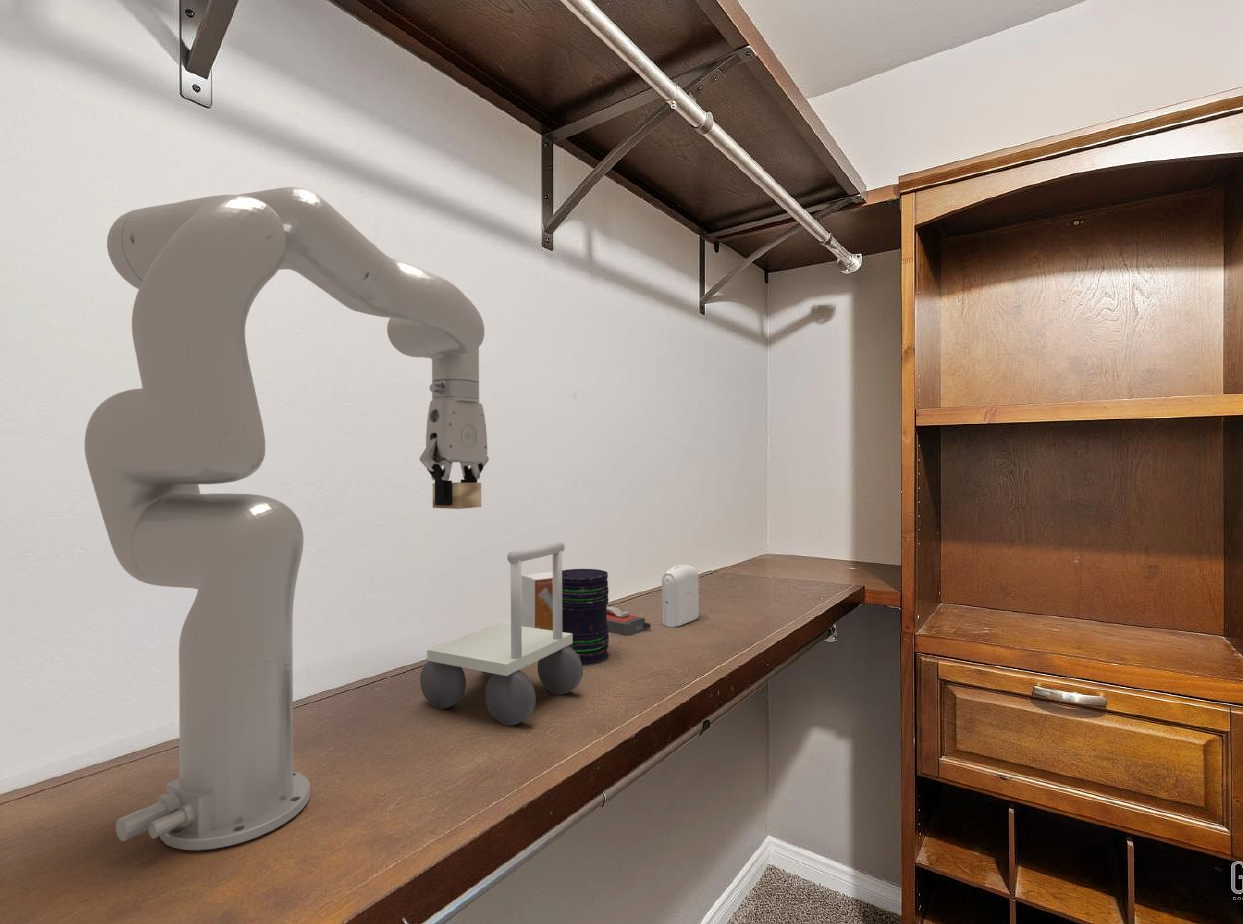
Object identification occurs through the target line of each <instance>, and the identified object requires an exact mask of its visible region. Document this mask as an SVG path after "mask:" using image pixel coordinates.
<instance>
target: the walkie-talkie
mask: <svg viewBox="0 0 1243 924" xmlns="http://www.w3.org/2000/svg"><path fill="white" fill-rule="evenodd" d="M607 625H608V629H609V632H608V633H612V634H616V635H619V636H625V637H630V636H632V635H635V634H636V635H637V634H638V633H641V632H644V631H646V629H650V628H651V625H652V624H651V623H650V622H646V618H645V617H641V616H637V615H630V611H624V612H623V611H622V610H620V608H619V607H613V606H608V605H607Z"/></svg>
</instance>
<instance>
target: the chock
mask: <svg viewBox="0 0 1243 924" xmlns="http://www.w3.org/2000/svg"><path fill="white" fill-rule="evenodd" d="M481 507H482V482H477V483H461V482H452V505H450V506H441V505H435V482H434V483H432V508H433V509H449V510H450V509H453V510H461V509H462V510H463V509H473V508H481Z"/></svg>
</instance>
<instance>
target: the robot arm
mask: <svg viewBox="0 0 1243 924" xmlns="http://www.w3.org/2000/svg"><path fill="white" fill-rule="evenodd" d="M106 248H107V254H108V256H109V259H110V261H111V265H112V266H113V268H114V269H115V270H116V272H117V273H118V274H119V275H120V276H121V277H122V279H123V280H125V282H127V283H128V284H129V285H131V286H132V287H134V288H136V289H137V292H136V293H137V294H136V297H135V299H134V303H133V308H132V312H131V313H132V316H131V333H132V341H133V346H134V350H135V351H134V353H135V356H136V362H137V367H138V372H139V377H140V382H141V388H133V389H128V390H125V391H121V392H117V393H116V394H112V395H110V397H108V398H106V399H105V400H104V401H102V402H101V403H100V404H99V405H98V406H97V407H96V408H95V410H94V411H93V412H92V414H91V416H90V418H89V420H88V422H87V426H86V430H85V434H84V435H85V436H84V455H85V461H86V464H87V468H88V471H89V475H90V479H91V483H92V486H93V489H94V492H95V495H96V500H97V503H98V505H99V506H98V507H99V509H100V513H101V516H102V519H103V523H104V526H105V529H106V532H107V533H106V534H107V536H108V538H109V539H108V540H109V542H110V545H111V547H112V549H113V552H114V556H115V557H116V559H117V560H118V561H117V562H119V564H120V565H121V567H122V569H123V570H124V571H125V572H127V574H128V575H130V577H133V578H134V579H135V580H138V581H140V582H142V583H144V584H148V585H152V586H158V587H169V588H170V587H171V588H183V589H184V588H186V589H194V590H197V592H196V596H195V598H194V601H193V603H192V606H191V607H190V609H189V611H188V613H187V615H186V617H185V620H184V622H183V625H182V627H181V632H180V636H179V641H178V643H179V644H178V668H179V669H178V671H179V673H178V675H179V676H178V678H179V680H178V681H179V684H178V686H179V687H178V688H179V691H178V693H179V695H178V696H179V701H178V702H179V703H178V704H179V706H178V707H179V721H178V724H179V726H178V727H179V778H176V779H175V780H172V781H170V782H168V783H167V785H166V792H167V793H166V794H165V795H163V796H161V797H159V798H158V799H157V800H156V803H155V804H152V805H150V806H148V807H146V808H140V809H138V810H136V811H133V812H131V813H129V814H127V815H125V816H122V817H119V818H118V819H117V821H116V824H115V831H116V834H117V837H118V839H119V840H120V841H121V842H126V841H127V840H129V839H132V838H134V837H136V836H138V835H140V834H142V833H145V832H146V831H148V835H149V836H150V838H151V839H157V838H160V840H161V842H163V843H164V844H165V845H167V846H169V847H171V848H174V849H178V850H182V851H183V850H184V851H207V850H215V849H221V848H225V847H230V846H234V845H238V844H242V843H244V842H247V841H251V840H254V839H257V838H259V837H261V836H263V835H265V834H267V833H270V832H272V831H274V830H276V829H278V828H279V827H281V826H283V825H285V824H286V823H288V822H289V821H290V820H292V819H293V818H295V817H296V816H297V815H298V814H299V813H300V812H301V811H302V810H303V809H304V808H305V806H306V805H307V804H308V802H309V800H310V798H311V784H310V780H309V779H308V778H307V776H305V775H303V774H302V773H301V772H298V771H294V713H293V712H294V703H293V702H294V700H293V698H294V692H293V690H294V688H293V687H294V685H293V683H294V681H293V679H294V678H293V674H294V673H293V671H294V670H293V668H294V667H293V665H294V664H293V661H294V660H293V654H294V653H293V650H294V649H293V623H294V620H293V619H294V618H293V616H294V599H295V591H296V585H297V580H298V575H299V570H300V565H301V561H302V557H303V556H302V555H303V550H304V530H303V526H302V524H301V521H300V519H299V517H298V516H297V514H296V512H294V510H292V508H290V507H289V506H288V505H286V504H285V503H283V502H282V501H280V500H278V499H275V498H273V497H269V496H263V495H260V494H252V493H201V491H200V488H199V487H200V486H199V485H219V484H226V483H227V484H228V483H233V482H239V481H241V480H243V479H246V478H248V477H250V476H252V474H254V473H255V472H256V471H258V470H259V469H260V467H261V466H262V463H263V462H264V458H265V456H266V436H265V430H264V425H263V420H262V416H261V410H260V407H259V401H258V396H257V393H256V388H255V383H254V379H253V376H252V369H251V365H250V361H249V354H248V349H247V342H246V323H247V319H248V318H247V317H248V315H249V313H250V309H251V307H252V305H253V303H254V301H255V299H256V297H257V296H258V294H259V293H260V292H261V290H262V289H263V288H264V287H265V285H266V284H267V283H269V281H270V280H271V279H272V278H273V277H274V276H275V275H276V274H277V273H278V272H279V271H281V270H290V271H294V272H295V273H297V274H300V275H301V276H302V277H303V278H305V279H306V280H308V281H309V282H311V283H312V284H313V285H316V287H318V288H319V289H320V290H322V291H324V292H325V293H326V294H328V295H329V296H330V297H332V298H333V299H335V300H336V301H338V302H339V303H340V304H341V305H343V306H345V307H346V308H348V309H350V310H352V311H354V312H358V313H360V314H361V313H362V314H366V315H370V316H376V317H380V318H389V319H388V322H387V325H386V332H387V337H388V340H389V342H390V344H391V345H392V346H393V347H394V348H395V349H396V350H397V351H398V352H399V353H401V354H402V355H405V356H408V357H411V358H426V359H431V384H430V385H429V391H430V392H431V400H430V402H429V407H428V414H427V419H426V430H425V431H426V433H425V449H424V450H423V452H422V453H421V455H420V456H419V462H420V463H421V464H422V465H423V466H424V467H425V468H426V470H427V471H428V472H427V473H429V474H430V475H431V476H430V478H431V480H432V481H434V483H435V505H441V506H450V505H452V483H453V481H452V480H450V477H451V472H452V467H453V463H459V464H460V468H461V472H462V477H463V479H460V483H478V480H480V478H481V473H482V471H483V470H484V467H485V466H486V465H487V463H489V459H490V458H489V456H488V436H487V435H488V434H487V423H486V417H485V412H484V408H483V407H484V406H483V404H482V403H480V347H481V345H482V344H483V342H484V338H485V325H484V321H483V317H482V316H481V314H480V312H479V310H478V308H476V306H475V305H474V304H473V302H472V301H471V299H469V298H468V297H467V296H466V295H465V294H464V293H463V292H462V291H461V290H460V289H459V288H458V287H457V286H456V285H454V284H453V283H452V282H450V281H448V280H447V279H444V278H443V277H440V276H439V275H437V274H434V273H432V272H430V271H426V270H424V269H422V268H419V267H417V266H414V265H411V264H409V263H407V262H404V261H401V260H399V259H398V260H397V259H395V258H393V257H390V256H388V255H387V254H385V253H384V252H383V251H382V250H381V249H380V248H378V246H377V245H376V244H374V242H372V241H370V240H369V239H368V238H367V237H366V236H365V235H364V234H363V233H361V232H360V231H359V230H358V229H357V228H356V227H355V226H354V225H353V223H351V222H350V221H349V220H347V218H345V217H344V216H343V215H342V214H341V213H340V212H339V211H337V209H335V208H334V207H333V206H332V205H331V204H330V203H328V202H327V201H326V200H325V199H324V198H323V197H322V196H320V195H318V194H317V193H316V192H314V191H311V190H309V189H307V188H302V187H296V186H287V187H286V186H284V187H279V188H278V187H276V188H270V189H264V190H259V191H254V192H251V191H250V192H248V193H241V194H221V195H212V196H205V197H198V198H191V199H187V200H182V201H178V202H173V203H172V202H171V203H167V204H161V205H153V206H149V207H148V206H147V207H143V208H138V209H133V210H130V211H128V212H126V213H124V214H122V215H120V216H119V217H118V218H116V220H115V221H114V222H113V223H112V224H111V226H110V229H109V231H108V234H107V240H106ZM469 466H470V468H469ZM442 467H443V468H442Z"/></svg>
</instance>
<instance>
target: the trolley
mask: <svg viewBox="0 0 1243 924" xmlns="http://www.w3.org/2000/svg"><path fill="white" fill-rule="evenodd" d="M565 549H566V548H565V544H564V543H563V542H562V541H556V542H552V543H547V544H543V545H537V546H533V547H527V548H523V549H517V550H513V551H509V553H508V554H507V557H506V558H507V561H508V562H509V564H510V624H509V623H501V622H499V623H497V624H494V625H491V626H488V627H485V628H482V629H480V630H478V631H474V632H472V633H470V634H467V635H464V636H461V637H458V638H455V639H453V640H450V641H447V642H445V643H443V644H440V645H436V646H434V647H431V648H429V649H427V650H426V661H427V662H425V664H424V665H423V667H422V669H421V670H420V671H421V672H420V682H419V683H420V689H421V692H422V694H423V696H424V699H425V700H426V702H427V703H428V704H430V705H431V706H432V707H433V708H435V709H439V710H446V709H448V708H450V707H452V706H455V705H456V704H458V703H459V702H460V701H462V699H463V698H464V695H466V694H465V692H466V689H467V679H466V675H465V671H464V669H469V670H473V671H480V672H481V674H482V676H483V677H485V679H487V680H488V681H487V683H486V686H485V690H484V691H485V693H484V694H485V697H484V698H485V702H486V705H487V709H488V711H489V713H490V714H491V716H492V717H493V718H494V719H495V720H496V721H497V722H498V723H500V724H502V725H505V726H509V727H510V726H512V727H513V726H516V725H518V724H520V723H521V722H523V721H525V720H526V719H528V718H529V717H530V716H531V715H532V713H533V712H534V710H535V707H536V701H537V699H536V691H535V687H534V685H533V682H532V681H531V679H530V678H529V677H528V675H527V674H526V673H525V672H523V671H522V669H523V668H526V667H528V666H530V665H531V664H534V663H536V662H537V666H536V668H537V675H538V678H539V680H540V682H541V684H542V685H543V687H544V688H545V689H546V690H547V691H548V692H550V693H552V694H554V695H560V696H561V695H566V694H568V693H571V691H572V690H575V689H576V688H577V687H578V686H579V685H580V683H581V681H582V679H583V674H584V672H583V671H584V668H583V667H584V666H582V662H581V660H580V658H579V656H578V654H577V653H576V652H575V651H574V650H573V649H572V648H571V647H569V646H568V645H570V644H572V643H573V639H572V633H565V632H562V570H563V552H564V551H565ZM551 555H552V572H553V631H551V630H544V629H537V628H530V627H524V626H521V601H522V591H521V576H522V562H526V561H530V560H531V561H532V560H535V559H539V558H543V557H546V556H551ZM463 668H464V669H463Z"/></svg>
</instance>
